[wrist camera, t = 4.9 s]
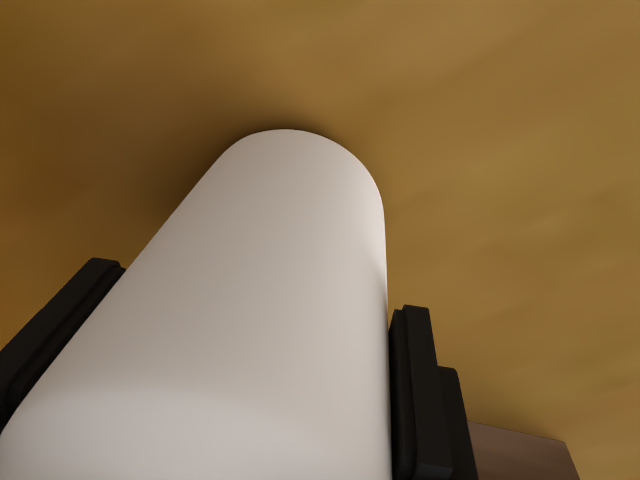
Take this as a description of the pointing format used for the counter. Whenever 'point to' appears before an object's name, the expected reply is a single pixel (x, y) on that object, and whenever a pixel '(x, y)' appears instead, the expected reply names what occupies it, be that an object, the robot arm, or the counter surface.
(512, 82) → the counter surface
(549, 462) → the walnut block
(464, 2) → the counter surface
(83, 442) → the can
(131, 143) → the counter surface
